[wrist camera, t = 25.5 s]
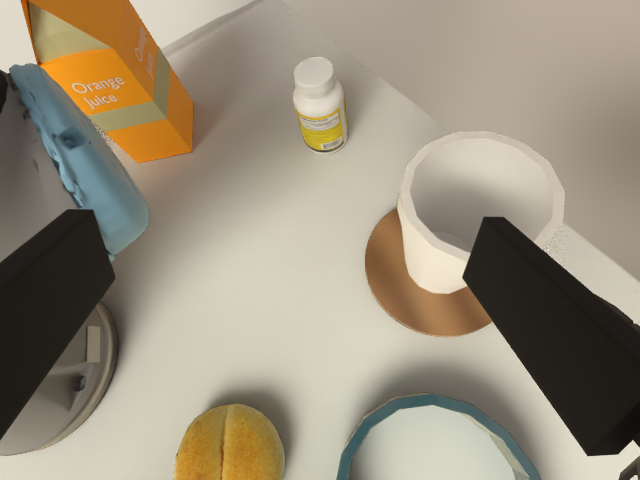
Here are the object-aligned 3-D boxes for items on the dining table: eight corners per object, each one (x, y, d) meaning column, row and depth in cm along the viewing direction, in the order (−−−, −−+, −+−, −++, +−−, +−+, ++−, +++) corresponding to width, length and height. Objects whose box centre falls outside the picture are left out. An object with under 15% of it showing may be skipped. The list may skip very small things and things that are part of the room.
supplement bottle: (317, 116, 43) (303, 45, 34) (355, 128, 41) (351, 58, 32) (296, 148, 41) (276, 82, 32) (335, 162, 39) (325, 97, 30)
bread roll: (286, 517, 27) (273, 538, 23) (180, 514, 28) (152, 535, 24) (288, 402, 30) (277, 404, 26) (193, 403, 31) (170, 406, 27)
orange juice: (136, 163, 44) (-31, 6, 25) (141, 113, 47) (-2, -56, 29) (193, 152, 43) (64, -18, 25) (194, 101, 47) (82, -79, 28)
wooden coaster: (421, 367, 30) (423, 367, 29) (339, 245, 35) (338, 242, 34) (547, 285, 31) (551, 283, 30) (448, 180, 36) (450, 176, 36)
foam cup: (506, 243, 32) (585, 161, 20) (469, 329, 29) (537, 293, 18) (413, 205, 35) (435, 113, 23) (372, 280, 32) (374, 221, 21)
